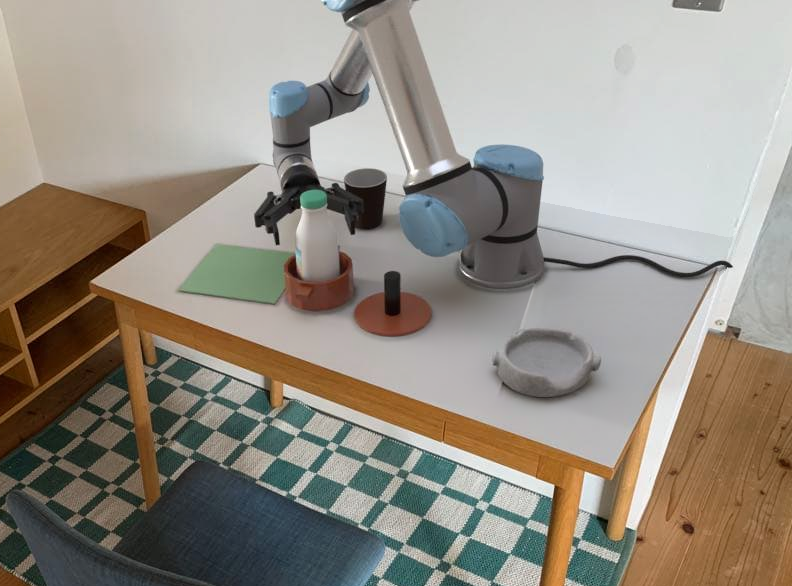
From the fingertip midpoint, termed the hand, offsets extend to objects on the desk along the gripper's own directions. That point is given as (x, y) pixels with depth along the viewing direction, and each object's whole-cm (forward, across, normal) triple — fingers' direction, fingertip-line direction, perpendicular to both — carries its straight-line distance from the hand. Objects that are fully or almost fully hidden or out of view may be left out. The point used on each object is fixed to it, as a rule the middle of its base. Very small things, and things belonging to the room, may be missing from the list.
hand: (315, 233), depth 162 cm
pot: (+1, 0, -12) cm, 12 cm away
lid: (+11, -11, -12) cm, 20 cm away
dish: (+33, -31, -13) cm, 47 cm away
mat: (-11, +13, -12) cm, 21 cm away
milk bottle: (+1, 0, -12) cm, 12 cm away
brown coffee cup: (-26, -14, -13) cm, 32 cm away
